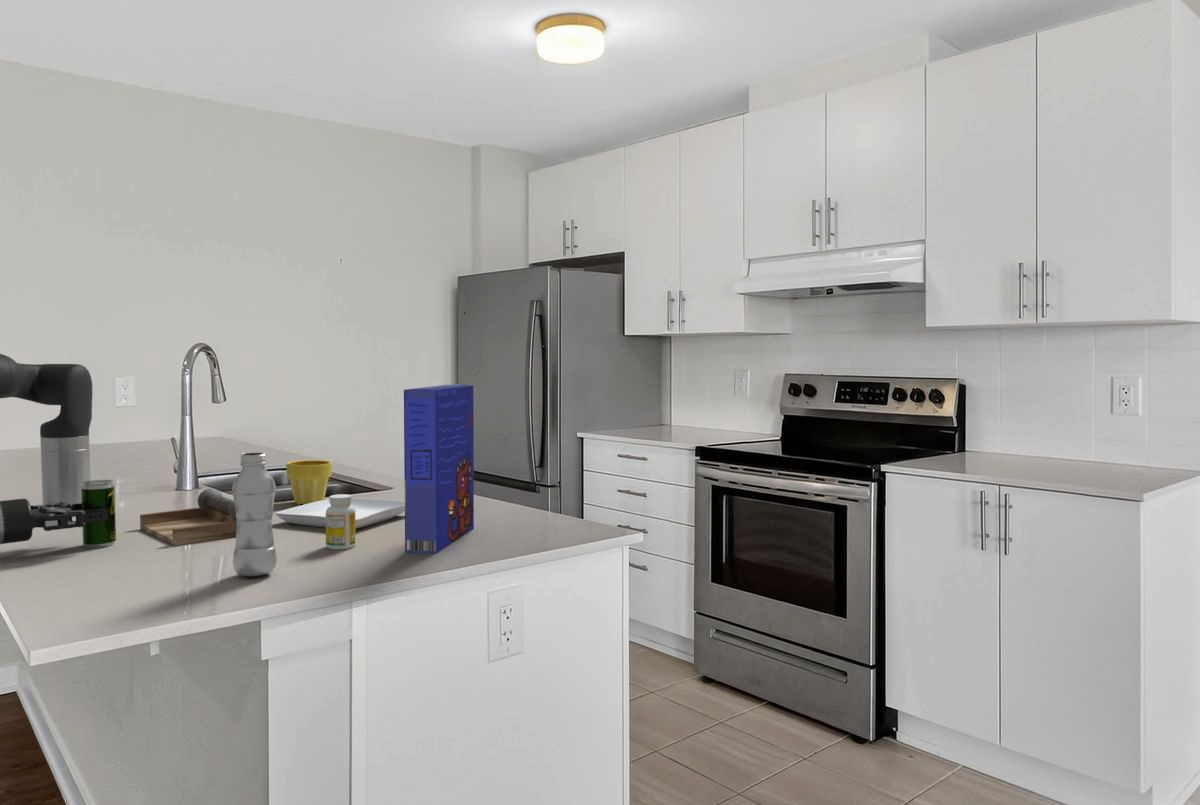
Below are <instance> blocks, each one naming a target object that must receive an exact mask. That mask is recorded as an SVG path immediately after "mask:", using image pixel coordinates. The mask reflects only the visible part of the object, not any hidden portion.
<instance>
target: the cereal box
mask: <svg viewBox="0 0 1200 805" xmlns="http://www.w3.org/2000/svg"><path fill="white" fill-rule="evenodd" d="M474 436H475V435H474V385H471V384H466V383H454V384H442V385H434V386H433V385H432V386H426V387H423V386H422V387H417V388H415V387H414V388H408V389H403V441H404V442H403V451H404V452H403V453H404V456H403V457H404V462H403V463H404V475H403V476H404V501H405V512H404V552H405V553H415V554H416V553H417V554H418V553H419V554H433V555H434V554H439V552H441V551H442V550H444V549H445V548H447V547H449V546H450V545H452V544H453V543H455V542H456V541H458V540H459V539H460V538H463V537H464V536H465V535H467V534H468V533H470V532H472V531H473V530H474V529H475V524H474V523H475V522H474V521H475V513H474V510H475V508H474V507H475V506H474V505H475V503H474V502H475V500H474V499H475V498H474V494H475V493H474V492H475V490H474V489H475V488H474V484H475V483H474V482H475V481H474V480H475V479H474V477H475V475H474V473H475V472H474V471H475V470H474V469H475V466H474V461H475V460H474V453H475V452H474V441H475V440H474Z"/></svg>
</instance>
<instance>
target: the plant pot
mask: <svg viewBox="0 0 1200 805" xmlns="http://www.w3.org/2000/svg"><path fill="white" fill-rule="evenodd" d="M332 462H333V461H329V460H322V459H300V460H293V461H289V462H287V463H286V477H287V478H288V479H289V482H290V486H291V491H292V495H293V500H294V504H296V503H298V504H297V505H300V504H309V503H313V502H317V501H322V500H326V498H325V497H326V493H327V488H328V484H329V479H330V477H332V474H333V463H332Z"/></svg>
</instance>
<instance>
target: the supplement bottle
mask: <svg viewBox="0 0 1200 805" xmlns="http://www.w3.org/2000/svg"><path fill="white" fill-rule="evenodd" d="M352 498H353V497H352V495H351V494H343V493H342V494H338V493H337V494H332V495H330V496H329V497H328V499H329V503H330V504H331V506H330V507H328V508H327V510H326V527H325V546H326V548H327V549H328V550H336V551H337V550H347V549H348V550H349V549H352V548H353V547H355V546H356V541H357V540H356V537H357V536H356V529H355V508H354V507H353V506H350V504H351V502H352Z"/></svg>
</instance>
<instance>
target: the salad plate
mask: <svg viewBox="0 0 1200 805" xmlns="http://www.w3.org/2000/svg"><path fill="white" fill-rule="evenodd" d="M330 506H331V504H330V503H329V498H328V499H324V500H322V501H317V502H313V503H309V504H305V505H297V506H294V507H290V508H287V509H283V510H278V511H275V515H276V516H277V517H278V518H279V519H281V520H283V521H285V522H287V523H290V524H295V525H299V526H308V527H319V528H326V510H327V508H328V507H330ZM350 506H353V507H354V508H355V530H356V529H361V528H365V527H369V526H371V525H375V524H377V523H381V522H385V521H387V520H390V519H393V518H394V517H397V516H399V515H402V514H403V513H405V500H393V499H384V498H383V499H382V498H381V499H380V498H365V497H364V498H363V497H352V502H351V504H350Z"/></svg>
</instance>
